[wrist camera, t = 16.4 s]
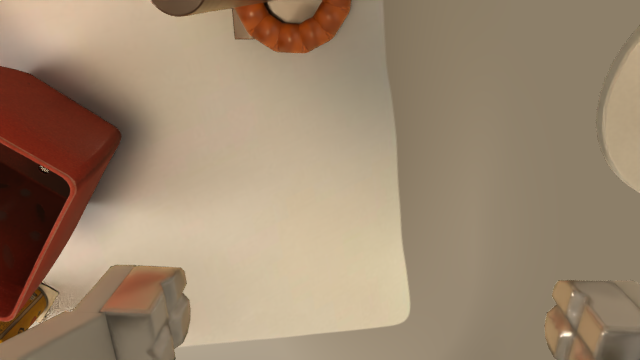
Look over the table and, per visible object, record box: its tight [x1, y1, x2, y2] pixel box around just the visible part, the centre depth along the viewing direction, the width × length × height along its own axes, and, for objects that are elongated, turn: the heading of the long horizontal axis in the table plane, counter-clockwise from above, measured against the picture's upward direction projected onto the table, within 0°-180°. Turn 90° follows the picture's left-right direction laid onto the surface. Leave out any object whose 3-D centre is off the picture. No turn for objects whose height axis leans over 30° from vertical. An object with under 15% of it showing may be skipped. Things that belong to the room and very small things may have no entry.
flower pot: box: [0, 66, 121, 322], centre depth 44 cm, size 19×19×17 cm
